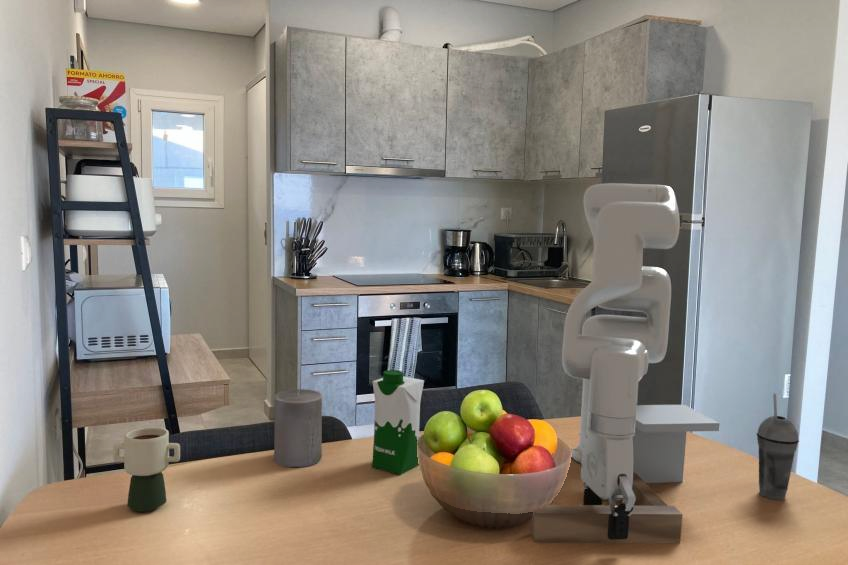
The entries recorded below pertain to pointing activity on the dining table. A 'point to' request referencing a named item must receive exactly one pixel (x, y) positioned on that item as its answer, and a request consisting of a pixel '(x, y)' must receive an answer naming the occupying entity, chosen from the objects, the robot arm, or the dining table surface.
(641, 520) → the wooden corner bracket
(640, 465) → the shelf
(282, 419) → the pillar candle
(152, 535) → the dining table surface
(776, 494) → the beverage cup
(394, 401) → the milk carton
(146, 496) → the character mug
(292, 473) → the dining table surface
